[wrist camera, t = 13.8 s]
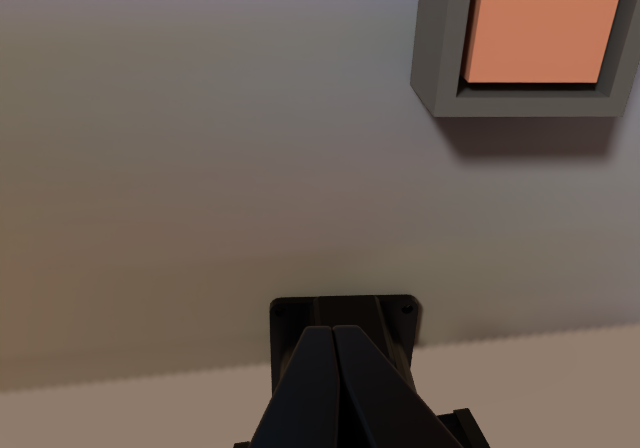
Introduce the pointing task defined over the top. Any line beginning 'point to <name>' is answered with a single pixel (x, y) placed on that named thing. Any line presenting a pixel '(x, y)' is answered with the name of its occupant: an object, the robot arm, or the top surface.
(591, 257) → the top surface
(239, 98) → the top surface
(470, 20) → the button
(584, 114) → the button housing
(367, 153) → the top surface
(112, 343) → the top surface
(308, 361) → the robot arm
